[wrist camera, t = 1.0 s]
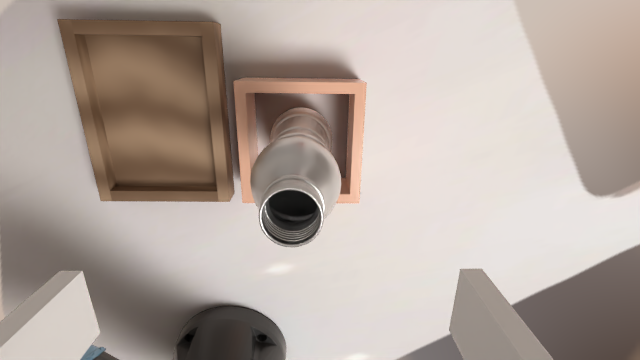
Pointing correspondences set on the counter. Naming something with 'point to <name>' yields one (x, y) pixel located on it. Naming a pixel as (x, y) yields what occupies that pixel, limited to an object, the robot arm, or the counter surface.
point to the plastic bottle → (296, 178)
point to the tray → (152, 108)
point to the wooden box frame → (250, 86)
